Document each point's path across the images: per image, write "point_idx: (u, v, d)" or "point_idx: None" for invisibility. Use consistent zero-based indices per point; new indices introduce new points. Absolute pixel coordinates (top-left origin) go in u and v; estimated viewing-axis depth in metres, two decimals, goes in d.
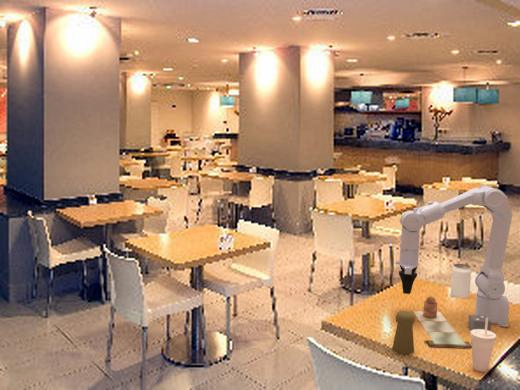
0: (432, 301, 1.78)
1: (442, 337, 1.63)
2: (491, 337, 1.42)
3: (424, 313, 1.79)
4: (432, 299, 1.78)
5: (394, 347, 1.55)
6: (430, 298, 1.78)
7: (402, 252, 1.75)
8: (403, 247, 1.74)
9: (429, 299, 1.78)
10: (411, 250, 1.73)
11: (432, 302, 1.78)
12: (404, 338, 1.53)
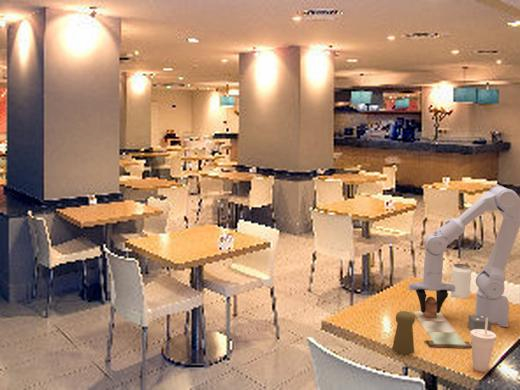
0: (432, 301, 1.78)
1: (442, 337, 1.63)
2: (491, 337, 1.42)
3: (424, 313, 1.79)
4: (432, 299, 1.78)
5: (394, 347, 1.55)
6: (430, 298, 1.78)
7: None
8: (426, 270, 1.76)
9: (429, 299, 1.78)
10: (425, 271, 1.77)
11: (432, 302, 1.78)
12: (404, 338, 1.53)
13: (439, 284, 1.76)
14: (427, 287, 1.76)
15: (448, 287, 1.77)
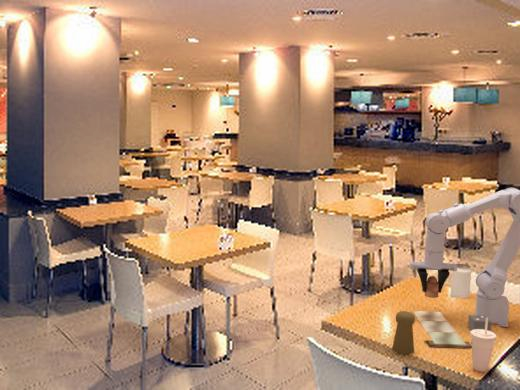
0: (434, 280, 1.77)
1: (442, 337, 1.63)
2: (491, 337, 1.42)
3: (425, 293, 1.78)
4: (434, 278, 1.77)
5: (394, 347, 1.55)
6: (431, 277, 1.77)
7: None
8: (428, 249, 1.75)
9: (430, 278, 1.77)
10: (426, 250, 1.76)
11: (434, 281, 1.77)
12: (404, 338, 1.53)
13: (441, 263, 1.75)
14: (428, 266, 1.75)
15: (450, 266, 1.76)
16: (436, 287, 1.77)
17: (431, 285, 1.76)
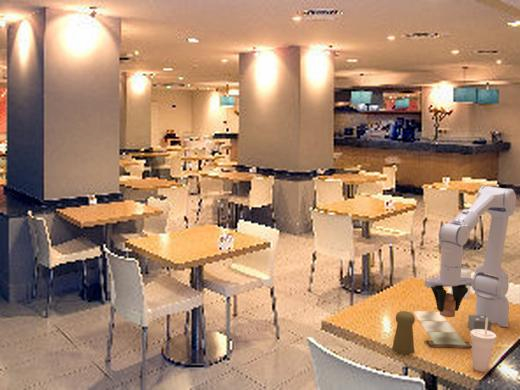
0: (451, 298, 1.60)
1: (442, 337, 1.63)
2: (491, 337, 1.42)
3: (442, 312, 1.61)
4: (451, 296, 1.60)
5: (394, 347, 1.55)
6: (448, 295, 1.60)
7: None
8: (452, 264, 1.57)
9: (447, 296, 1.60)
10: (443, 265, 1.58)
11: (451, 299, 1.60)
12: (404, 338, 1.53)
13: (459, 279, 1.58)
14: (447, 283, 1.58)
15: (467, 281, 1.60)
16: (454, 305, 1.60)
17: (449, 303, 1.59)
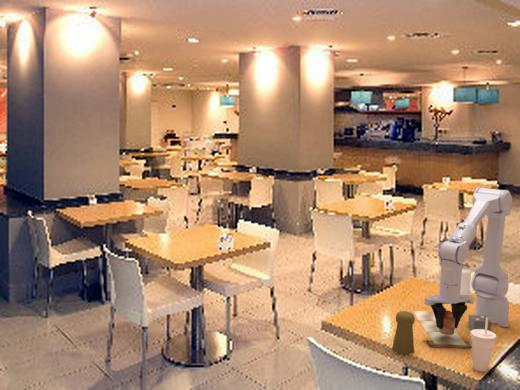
0: (450, 315, 1.60)
1: (442, 337, 1.63)
2: (491, 337, 1.42)
3: (441, 329, 1.61)
4: (450, 313, 1.60)
5: (394, 347, 1.55)
6: (448, 312, 1.60)
7: None
8: (451, 282, 1.57)
9: (447, 313, 1.60)
10: (442, 283, 1.59)
11: (450, 317, 1.60)
12: (404, 338, 1.53)
13: (458, 296, 1.58)
14: (447, 301, 1.58)
15: (467, 299, 1.60)
16: (453, 323, 1.60)
17: (448, 321, 1.59)
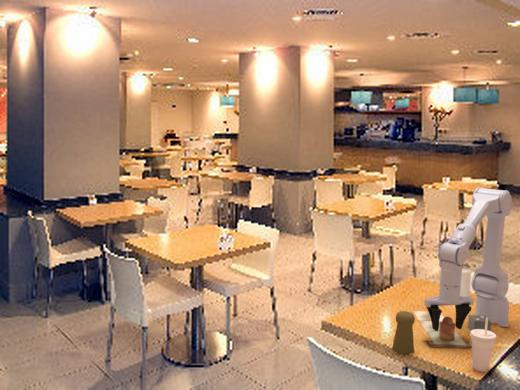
0: (450, 322, 1.60)
1: None
2: (491, 337, 1.42)
3: (441, 336, 1.61)
4: (450, 319, 1.60)
5: (394, 347, 1.55)
6: (448, 319, 1.61)
7: None
8: (451, 284, 1.57)
9: (447, 320, 1.60)
10: (442, 284, 1.59)
11: (450, 323, 1.60)
12: (404, 338, 1.53)
13: (458, 298, 1.58)
14: (446, 302, 1.58)
15: (467, 300, 1.60)
16: (453, 329, 1.60)
17: (448, 327, 1.60)
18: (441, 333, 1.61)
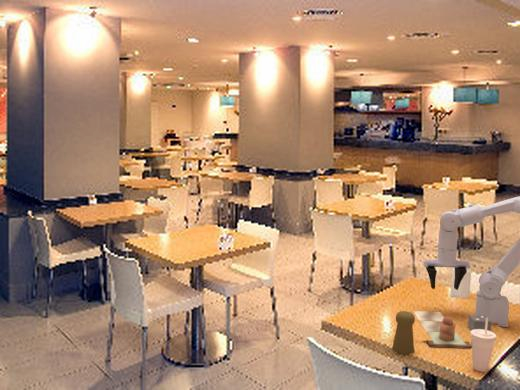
0: (450, 322, 1.60)
1: None
2: (491, 337, 1.42)
3: (442, 336, 1.61)
4: (450, 320, 1.60)
5: (394, 347, 1.55)
6: (448, 319, 1.61)
7: None
8: (439, 246, 1.79)
9: (447, 320, 1.60)
10: (439, 248, 1.79)
11: (451, 323, 1.60)
12: (404, 338, 1.53)
13: (454, 260, 1.78)
14: (442, 263, 1.78)
15: (462, 263, 1.79)
16: (453, 329, 1.60)
17: (449, 327, 1.60)
18: (441, 333, 1.61)
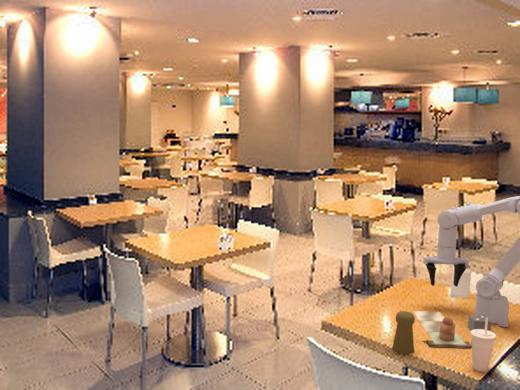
0: (450, 322, 1.60)
1: None
2: (491, 337, 1.42)
3: (442, 336, 1.61)
4: (450, 320, 1.60)
5: (394, 347, 1.55)
6: (448, 319, 1.61)
7: None
8: (438, 243, 1.83)
9: (447, 320, 1.60)
10: (439, 245, 1.83)
11: (451, 323, 1.60)
12: (404, 338, 1.53)
13: (453, 258, 1.82)
14: (441, 261, 1.82)
15: (461, 261, 1.83)
16: (453, 329, 1.60)
17: (449, 327, 1.60)
18: (441, 333, 1.61)
